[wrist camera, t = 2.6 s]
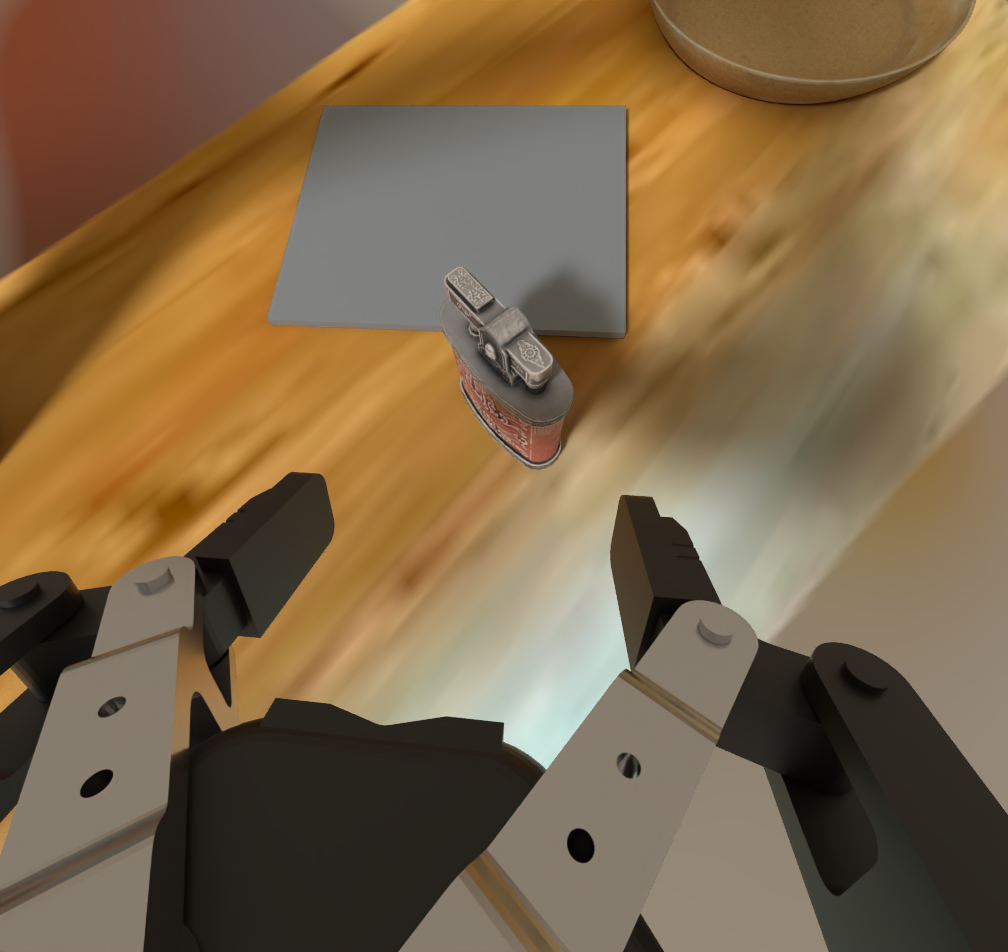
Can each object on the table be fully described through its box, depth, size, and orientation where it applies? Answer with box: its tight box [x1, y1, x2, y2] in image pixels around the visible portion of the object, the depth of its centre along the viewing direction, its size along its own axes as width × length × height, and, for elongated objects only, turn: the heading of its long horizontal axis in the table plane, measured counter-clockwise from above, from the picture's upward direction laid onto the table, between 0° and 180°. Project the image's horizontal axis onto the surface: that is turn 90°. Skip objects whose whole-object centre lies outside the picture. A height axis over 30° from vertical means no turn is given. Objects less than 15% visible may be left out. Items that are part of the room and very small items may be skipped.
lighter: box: [438, 267, 574, 470], centre depth 21 cm, size 8×3×10 cm, turn 39°
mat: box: [267, 106, 626, 338], centre depth 30 cm, size 24×20×1 cm
